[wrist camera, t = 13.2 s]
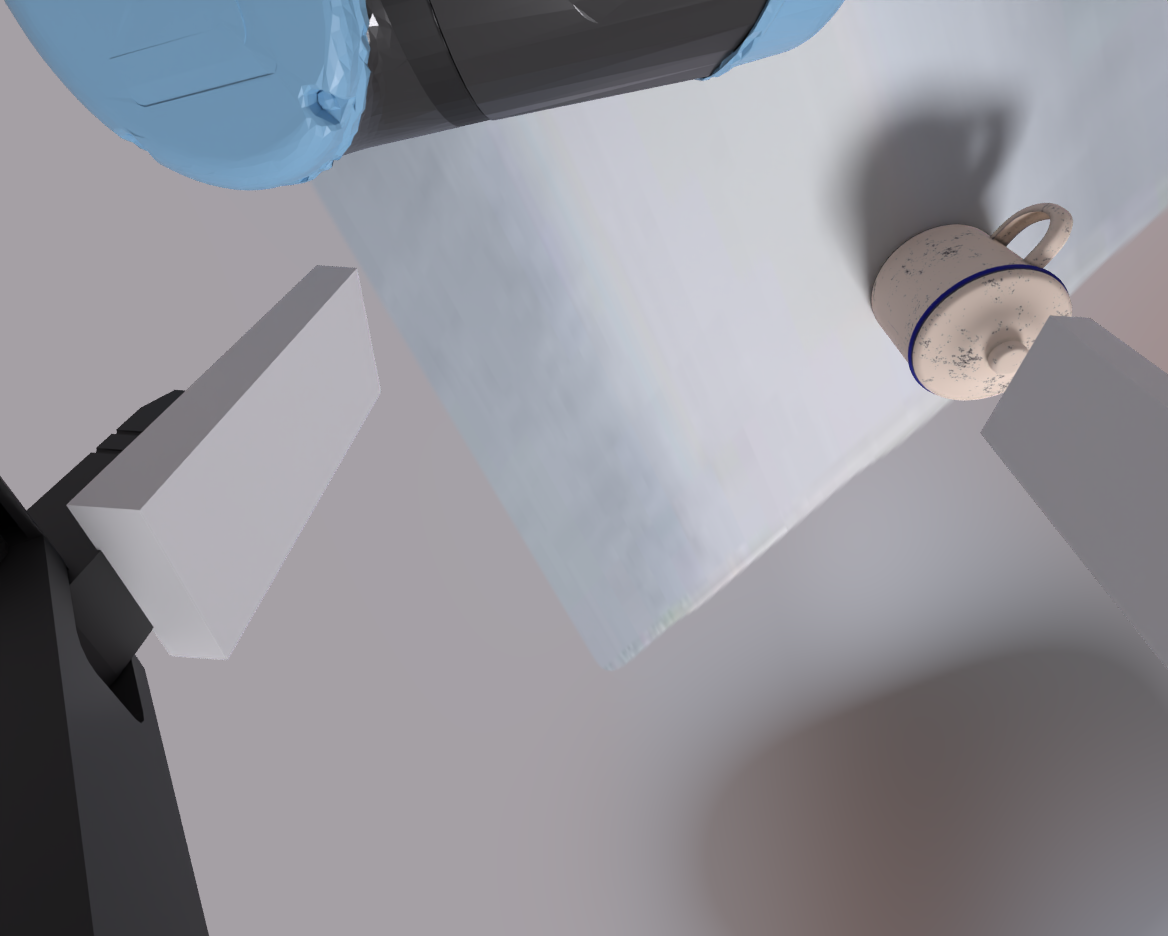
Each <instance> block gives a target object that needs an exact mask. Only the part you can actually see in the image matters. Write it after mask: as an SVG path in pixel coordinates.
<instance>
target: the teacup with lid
mask: <svg viewBox="0 0 1168 936" xmlns="http://www.w3.org/2000/svg"><path fill="white" fill-rule="evenodd" d="M1047 219H1050V225H1049V228H1048V231H1047V233H1046V234H1045V236H1044V237H1043V239H1042V240H1041V241H1040V243H1039V244H1038V245H1037V246H1036V247H1035V248H1034V249H1033V250H1032V251H1031V252H1030V253H1029V254H1028V255H1027V257H1026V258H1025V259H1022V258H1021V257H1020V256H1018V255H1017V254H1015V253H1014V252H1012V251H1011V250H1010V249H1008V248H1007V247H1006V246H1007V245H1008V244H1009V243H1010V242H1011V241H1012V240H1013V239H1014V238H1015V237H1016V236H1017V235H1018V234H1019V233H1020V232H1021V231H1022V230H1024V229H1025V228H1026V227H1028V226H1030V225H1031V224H1033V223H1036V222H1038V221H1042V220H1047ZM1072 226H1073V219H1072V216H1071V214H1070V213H1069V212H1068V211H1067V210H1066V209H1064V208H1063V207H1061V206H1059V205H1056V204H1053V203H1040V204H1035V205H1032V206H1029V207H1026V208H1024V209H1022V210H1020V211H1018V212H1017V213H1015V214H1014V215H1012V216H1011V217H1010V218H1008V219H1007V220H1006V221H1005V222H1004V223H1003V224H1002V225H1001V226H1000V227H999V228H998V229H997V230H996V231H995V232H994V233H993V234H992V235H991V236H989V235H988V234H987V233H985V232H983V231H982V230H980V229H978V228H975V227H972V226H968V225H960V224H953V225H944V226H939V227H936V228H932V229H929V230H927V231H924V232H922V233H920V234H918V235H916V236H914V237H913V238H911V239H910V240H908V241H907V242H905V243H904V244H903V245H901V246H900V247H899V248H898V249H897V250H896V251H895V252H894V253H893V254H892V255H891V256H890V257H889V258H888V259H887V261H886V262H885V263H884V265H883V266H882V268H881V270H880V271H879V273H878V275H877V278H876V280H875V283H874V286H873V291H872V299H871V300H872V310H873V313H874V316H875V318H876V320H877V322H878V323H879V324H880V326H881V327H882V328H883V330H884V331H885V333H886V334H887V335H888V337H889V338H890V339H891V341H892V342H893V343H894V345H895V346H896V347H897V349H898V350H899V351H900V353H901V354H902V355H903V357H904V358H905V359H906V361H907V362H908V364H909V367H910V370H911V373H912V375H913V376H914V378H915V380H916V381H917V382H918V383H919V384H920V385H921V386H922V387H923V388H925V389H926V390H927V391H929V392H931V393H933V394H936V395H938V396H941V397H944V398H948V399H953V400H977V399H983V398H987V397H992V396H995V395H998V394H1001V393H1004V392H1005V390H1006V389H1007V387H1008V385H1009V383H1010V382H1011V380H1012V378H1013V377H1014V375H1015V373H1016V372H1017V370H1018V368H1019V367H1020V365H1021V363H1022V361H1023V360H1024V358H1025V356H1026V355H1027V353H1028V351H1029V350H1030V348H1031V346H1032V345H1033V343H1034V341H1035V339H1036V338H1037V336H1038V334H1039V333H1040V331H1041V329H1042V328H1043V326H1044V324H1045V322H1046V321H1047V319H1048V317H1049V316H1050V315H1053V316H1068V317H1072V306H1071V300H1070V297H1069V294H1068V291H1067V289H1066V287H1065V286H1064V284H1063V283H1062V282H1061V280H1060V279H1059V278H1058V277H1056V276H1055V275H1054V274H1052V273H1051V272H1049V271H1047V270H1045V269H1043V268H1044V267H1045V266H1046V265H1047V264H1048V263H1049V262H1050V261H1051V260H1052V259H1053V258H1054V256H1055V255H1056V254H1057V253H1058V252H1059V251H1060V250H1061V248H1062V247H1063V246H1064V244H1065V243H1066V241H1067V239H1068V237H1069V235H1070V233H1071V230H1072Z"/></svg>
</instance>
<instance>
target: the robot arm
mask: <svg viewBox="0 0 1168 936" xmlns="http://www.w3.org/2000/svg"><path fill="white" fill-rule="evenodd" d="M844 1H845V0H5V2H6V4H7V6H8V7H9V9H10V11H11V12H12V14H13V15H14V17H15V18H16V20H17V22H18V23H19V25H20V27H21V28H22V30H23V31H24V33H25V34H26V36H27V37H28V39H29V40H30V42H31V43H32V45H33V46H34V47H35V49H36V50H37V51H38V53H39V54H40V56H41V57H42V58H43V59H44V61H45V62H46V63H47V64H48V66H49V67H50V68H51V69H52V71H53V72H54V73H55V74H56V75H57V77H58V78H59V79H60V80H61V81H62V82H63V84H64V85H65V86H66V87H67V88H68V89H69V90H70V91H71V93H72V94H73V95H74V96H75V97H76V98H77V99H78V100H79V101H80V102H81V103H82V104H83V105H84V106H85V107H86V108H87V109H88V110H89V111H90V112H91V113H92V114H93V115H94V116H95V117H97V118H98V119H99V120H100V121H101V122H102V123H103V124H105V125H106V126H107V127H108V128H110V129H111V130H112V131H113V132H115V133H116V134H117V135H118V136H120V137H121V138H123V139H125V140H127V141H130V142H133V143H134V144H136V145H137V146H138V147H139V148H141V149H144V150H146V151H148V152H149V153H150V155H151V156H152V157H153V158H154V159H155V160H156V161H157V162H158V163H160V164H161V165H163V166H165V167H167V168H169V169H171V170H173V171H175V172H177V173H179V174H181V175H184V176H186V177H189V178H191V179H194V180H196V181H199V182H203V183H206V184H209V185H213V186H218V187H222V188H229V189H236V190H263V189H270V188H275V187H279V186H286V185H294V184H299V183H305V182H308V181H310V180H313V179H314V178H316V177H317V176H318V175H319V174H320V173H321V172H322V171H325V170H328V169H330V168H331V167H332V165H333V160H339V159H340V158H341V157H342V156H343V155H346V154H349V153H352V152H355V151H359V150H362V149H366V148H370V147H374V146H378V145H382V144H387V143H391V142H396V141H400V140H405V139H409V138H414V137H418V136H422V135H427V134H431V133H436V132H440V131H444V130H449V129H453V128H457V127H461V126H465V125H470V124H474V123H478V122H483V121H487V120H498V119H503V118H508V117H513V116H518V115H523V114H527V113H532V112H537V111H542V110H547V109H552V108H557V107H561V106H566V105H571V104H576V103H581V102H586V101H591V100H595V99H600V98H605V97H610V96H615V95H620V94H625V93H629V92H634V91H639V90H644V89H649V88H654V87H659V86H663V85H668V84H673V83H678V82H683V81H688V80H693V79H695V80H700V81H704V80H709V79H710V78H711V77H719V76H720V75H722V74H724V73H726V72H727V71H729V70H730V69H732V68H733V67H735V66H738V65H742V64H745V63H749V62H752V61H756V60H759V59H762V58H766V57H769V56H773V55H776V54H780V53H783V52H786V51H789V50H791V49H793V48H795V47H797V46H799V45H801V44H802V43H804V42H806V41H807V40H809V39H810V38H811V37H813V36H814V35H815V34H816V33H817V32H818V31H819V30H820V29H821V28H822V27H823V26H824V25H825V24H826V23H827V22H828V21H829V20H830V19H831V18H832V17H833V15H834V14H835V13H836V12H837V10H838V9H839V8H840V6H841V5H842V4H843V2H844ZM380 393H381V388H380V383H379V378H378V373H377V368H376V363H375V357H374V352H373V347H372V343H371V337H370V332H369V327H368V321H367V316H366V312H365V306H364V301H363V296H362V291H361V286H360V281H359V275H358V270H357V268H347V267H333V266H318V265H317V266H316V267H315V268H314V269H312V270H311V271H310V272H309V273H308V274H307V275H306V276H305V277H304V278H303V279H302V280H301V281H300V282H299V283H298V284H297V285H296V286H295V287H294V288H293V289H292V290H291V291H290V292H289V293H287V294H286V295H285V297H283V298H282V299H281V300H280V301H279V302H278V303H277V304H276V305H275V306H274V307H273V308H272V309H271V310H270V311H269V312H268V313H267V314H265V315H264V316H263V317H262V318H261V319H260V320H259V321H258V322H257V323H256V324H255V325H254V326H253V327H252V328H251V329H250V330H249V331H248V332H247V333H246V334H245V335H244V336H243V337H241V338H240V339H239V340H238V341H237V342H236V343H235V344H234V345H233V346H232V347H231V348H230V349H229V350H228V351H227V352H226V353H225V354H224V355H223V356H221V358H220V359H218V360H217V361H216V362H215V363H214V364H213V365H212V366H211V367H210V368H209V369H208V370H207V371H206V372H205V373H204V374H203V375H202V376H201V377H200V378H199V379H197V380H196V381H195V382H194V383H193V384H192V385H191V386H190V387H189V388H188V389H187V390H186V391H183V390H174V391H172V392H170V393H169V394H166V395H164V396H162V397H160V398H158V399H157V400H155V401H153V402H151V403H149V404H147V405H145V406H143V407H141V408H140V409H139V410H138V411H137V412H136V413H135V414H133V415H132V416H131V417H130V418H129V419H128V420H127V421H126V422H124V423H123V424H122V425H121V426H120V427H119V428H118V429H117V434H111V435H110V436H109V437H108V438H107V439H106V440H104V441H103V442H102V443H101V444H100V445H99V446H98V447H97V452H96V453H90V454H89V455H88V456H87V457H86V458H84V460H82V461H81V462H80V463H79V464H78V465H77V466H76V467H74V468H73V469H72V470H71V471H70V472H69V473H68V474H67V475H66V476H64V477H63V478H62V479H61V480H60V481H59V482H58V483H57V484H56V485H55V486H53V487H52V488H51V489H50V490H49V491H48V492H47V493H46V494H45V495H43V497H41V498H40V499H39V500H38V501H37V502H36V503H35V504H34V505H32V506H31V507H30V508H29V509H28V510H27V511H26V510H25V508H24V507H23V506H22V504H21V503H20V502H19V500H18V499H17V498H16V496H15V495H14V494H13V492H12V491H11V490H10V488H9V487H8V486H7V484H6V483H5V482H4V481H3V479H2V478H1V476H0V936H209V934H208V930H207V926H206V922H205V918H204V913H203V909H202V905H201V901H200V897H199V893H198V889H197V884H196V880H195V876H194V872H193V868H192V864H191V859H190V855H189V852H188V847H187V843H186V839H185V835H184V831H183V826H182V822H181V818H180V814H179V810H178V806H177V801H176V797H175V793H174V789H173V785H172V781H171V776H170V772H169V768H168V764H167V760H166V756H165V751H164V747H163V743H162V740H161V735H160V731H159V727H158V722H157V719H156V714H155V710H154V706H153V702H152V698H151V693H150V689H149V685H148V681H147V677H146V673H145V669H144V667H143V666H142V664H141V663H140V661H139V660H138V658H137V657H136V655H135V653H136V652H137V650H138V649H139V647H140V646H141V645H142V643H143V642H144V640H145V639H146V638H147V636H148V635H149V633H150V632H151V631H152V630H153V632H154V633H155V635H156V636H157V637H158V639H159V640H160V642H161V643H162V645H163V646H164V648H165V649H166V650H167V652H168V653H169V655H170V656H177V657H191V658H205V659H220V660H228V659H229V657H230V655H231V653H232V652H233V650H234V648H235V646H236V645H237V643H238V641H239V639H240V638H241V636H242V634H243V632H244V631H245V629H246V627H247V625H248V624H249V622H250V620H251V618H252V617H253V615H254V613H255V611H256V610H257V608H258V606H259V604H260V603H261V601H262V599H263V598H264V596H265V594H266V592H267V591H268V589H269V587H270V585H271V584H272V582H273V580H274V578H275V577H276V575H277V573H278V571H279V569H280V568H281V566H282V564H283V562H284V561H285V559H286V557H287V556H288V553H289V552H290V550H291V549H292V547H293V545H294V543H295V542H296V540H297V538H298V536H299V535H300V533H301V531H302V529H303V528H304V526H305V524H306V522H307V521H308V519H309V517H310V515H311V514H312V512H313V510H314V508H315V507H316V505H317V503H318V501H319V499H320V498H321V496H322V494H323V492H324V491H325V489H326V487H327V486H328V484H329V482H330V480H331V479H332V477H333V475H334V473H335V472H336V470H337V468H338V466H339V465H340V463H341V461H342V459H343V458H344V456H345V454H346V453H347V451H348V449H349V447H350V446H351V443H352V442H353V440H354V439H355V437H356V435H357V433H358V432H359V430H360V428H361V426H362V424H363V423H364V421H365V419H366V418H367V416H368V414H369V412H370V410H371V409H372V407H373V405H374V403H375V402H376V400H377V398H378V397H379V395H380ZM981 434H982V436H983V437H984V438H985V439H986V441H987V442H988V443H989V445H990V446H991V447H992V448H993V450H994V451H995V452H996V453H997V455H998V456H999V457H1000V458H1001V460H1002V461H1003V462H1004V464H1005V465H1006V466H1007V467H1008V469H1009V470H1010V471H1011V472H1012V474H1013V475H1014V476H1015V477H1016V479H1017V480H1018V481H1019V483H1020V484H1021V485H1022V486H1023V488H1024V489H1025V490H1026V491H1027V492H1028V494H1029V495H1030V496H1031V498H1032V499H1033V500H1034V501H1035V503H1036V504H1037V505H1038V507H1039V508H1040V509H1041V510H1042V512H1043V513H1044V514H1045V515H1046V516H1047V518H1048V519H1049V520H1050V522H1051V523H1052V524H1053V525H1054V527H1055V528H1056V529H1057V531H1058V532H1059V533H1060V534H1061V536H1062V537H1063V538H1064V539H1065V541H1066V542H1067V543H1068V544H1069V545H1070V547H1071V548H1072V550H1073V551H1074V552H1075V553H1076V554H1077V556H1078V557H1079V558H1080V560H1081V561H1082V562H1083V563H1084V565H1085V566H1086V567H1087V568H1088V570H1089V571H1090V572H1091V574H1092V575H1093V576H1094V577H1095V579H1096V580H1097V581H1098V582H1099V584H1100V585H1101V586H1102V587H1103V589H1104V590H1105V591H1106V593H1107V594H1108V595H1109V596H1110V598H1111V599H1112V600H1113V601H1114V603H1115V604H1116V605H1117V606H1118V608H1119V609H1120V610H1121V611H1122V613H1123V614H1124V615H1125V616H1126V618H1127V619H1128V620H1129V622H1130V623H1131V624H1132V625H1133V627H1134V628H1135V629H1136V630H1137V632H1138V633H1139V634H1140V635H1141V636H1142V638H1143V639H1144V641H1145V642H1146V643H1147V644H1148V645H1149V647H1150V648H1151V649H1152V651H1153V652H1154V653H1155V654H1156V656H1157V657H1158V658H1159V660H1160V661H1161V662H1162V663H1163V665H1164V666H1165V667H1166V668H1167V670H1168V374H1167V373H1165V372H1164V371H1162V370H1161V369H1160V368H1158V367H1157V366H1156V365H1154V364H1153V363H1152V362H1150V361H1149V360H1147V359H1146V358H1145V357H1143V356H1142V355H1140V354H1139V353H1138V352H1136V351H1135V350H1134V349H1132V348H1131V347H1129V346H1128V345H1127V344H1125V343H1124V342H1122V341H1121V340H1120V339H1118V338H1117V337H1116V336H1114V335H1113V334H1111V333H1110V332H1109V331H1107V330H1106V329H1105V328H1103V327H1102V326H1101V325H1099V324H1098V323H1096V322H1095V321H1094V320H1092V319H1091V318H1082V317H1068V316H1053V315H1050V316H1049V317H1048V319H1047V321H1046V322H1045V324H1044V326H1043V328H1042V329H1041V331H1040V333H1039V334H1038V336H1037V338H1036V339H1035V341H1034V343H1033V345H1032V346H1031V348H1030V350H1029V351H1028V353H1027V355H1026V356H1025V358H1024V360H1023V361H1022V363H1021V365H1020V367H1019V368H1018V370H1017V372H1016V373H1015V375H1014V377H1013V378H1012V380H1011V382H1010V383H1009V385H1008V387H1007V389H1006V390H1005V392H1004V394H1003V395H1002V397H1001V399H1000V400H999V402H998V404H997V406H996V407H995V409H994V411H993V412H992V414H991V416H990V417H989V419H988V421H987V422H986V424H985V426H984V428H983V429H982V431H981Z"/></svg>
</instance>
